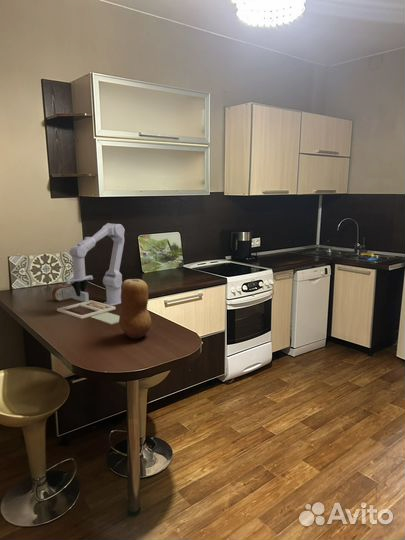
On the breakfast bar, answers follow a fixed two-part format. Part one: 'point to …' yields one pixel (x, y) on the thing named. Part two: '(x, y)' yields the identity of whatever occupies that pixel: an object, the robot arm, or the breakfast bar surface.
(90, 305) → the offcut upper
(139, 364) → the breakfast bar surface
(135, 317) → the butternut squash
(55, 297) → the tin
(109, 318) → the mat
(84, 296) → the grey rectangular block
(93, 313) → the rack
